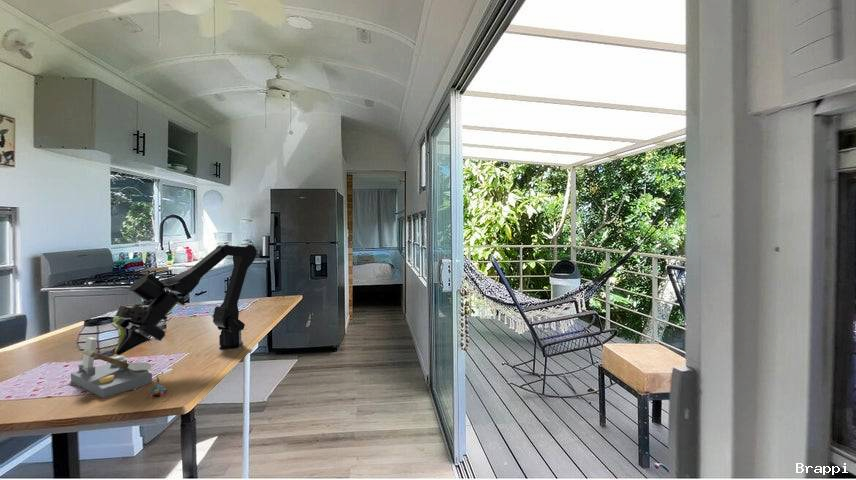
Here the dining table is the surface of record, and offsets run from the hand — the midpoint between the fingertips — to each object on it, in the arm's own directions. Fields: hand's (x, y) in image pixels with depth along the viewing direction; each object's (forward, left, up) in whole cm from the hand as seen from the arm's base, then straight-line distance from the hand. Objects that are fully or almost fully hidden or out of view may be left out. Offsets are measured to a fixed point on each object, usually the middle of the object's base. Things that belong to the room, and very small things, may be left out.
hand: (116, 354), depth 103 cm
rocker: (-7, +3, -4) cm, 9 cm away
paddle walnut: (-2, -2, -4) cm, 5 cm away
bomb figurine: (-16, +13, -9) cm, 23 cm away
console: (+1, +1, -8) cm, 8 cm away
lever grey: (+9, -2, -4) cm, 10 cm away
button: (+3, -7, -5) cm, 9 cm away
